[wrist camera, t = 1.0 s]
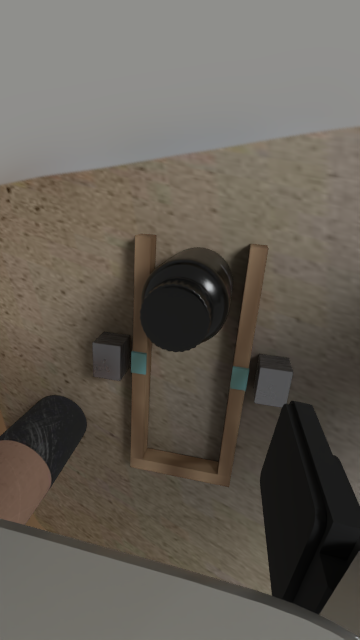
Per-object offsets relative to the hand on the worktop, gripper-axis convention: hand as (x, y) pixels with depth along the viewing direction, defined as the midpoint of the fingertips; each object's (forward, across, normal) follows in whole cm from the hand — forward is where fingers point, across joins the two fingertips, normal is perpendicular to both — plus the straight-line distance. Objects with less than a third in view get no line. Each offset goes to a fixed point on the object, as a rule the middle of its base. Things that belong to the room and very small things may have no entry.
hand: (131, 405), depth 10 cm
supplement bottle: (+23, 0, +1) cm, 23 cm away
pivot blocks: (+23, -1, +10) cm, 25 cm away
